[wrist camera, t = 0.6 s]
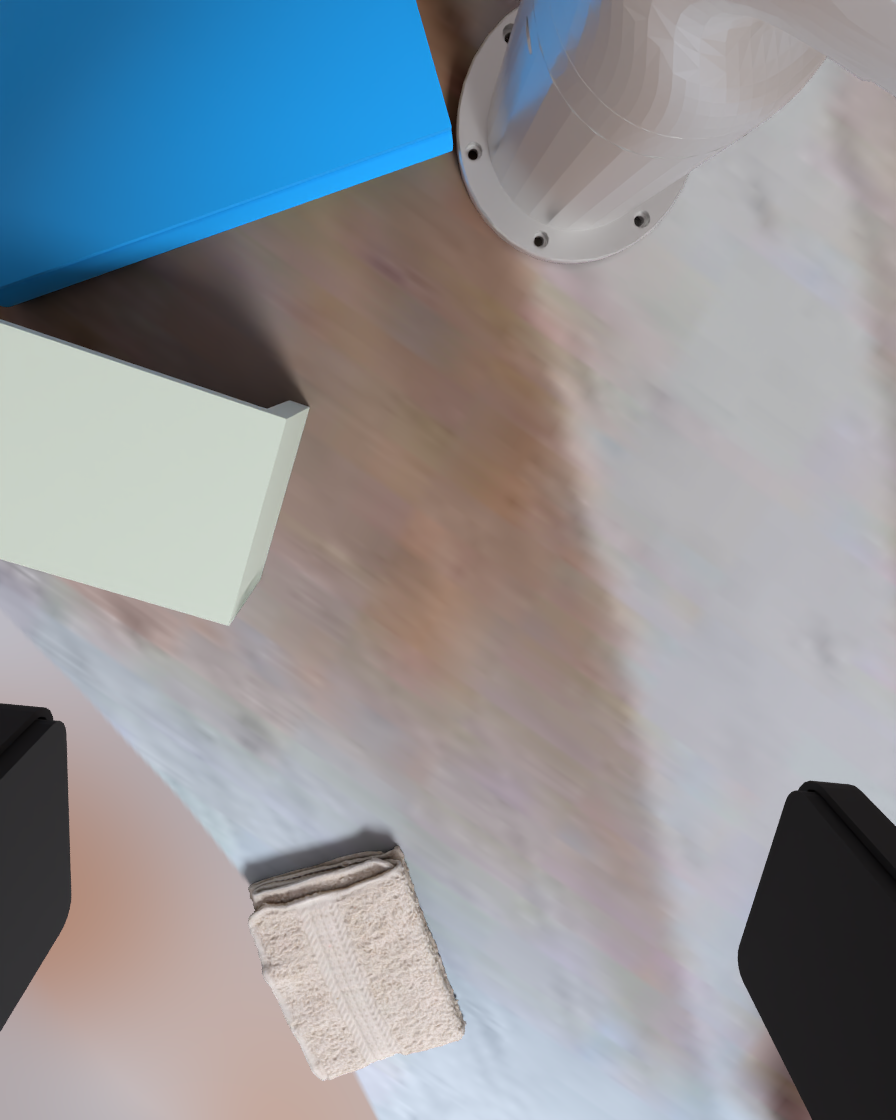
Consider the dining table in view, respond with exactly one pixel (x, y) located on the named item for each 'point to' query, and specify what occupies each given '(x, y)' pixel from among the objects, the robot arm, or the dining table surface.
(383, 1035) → the washcloth
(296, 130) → the book
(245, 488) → the shelf
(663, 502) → the dining table surface
